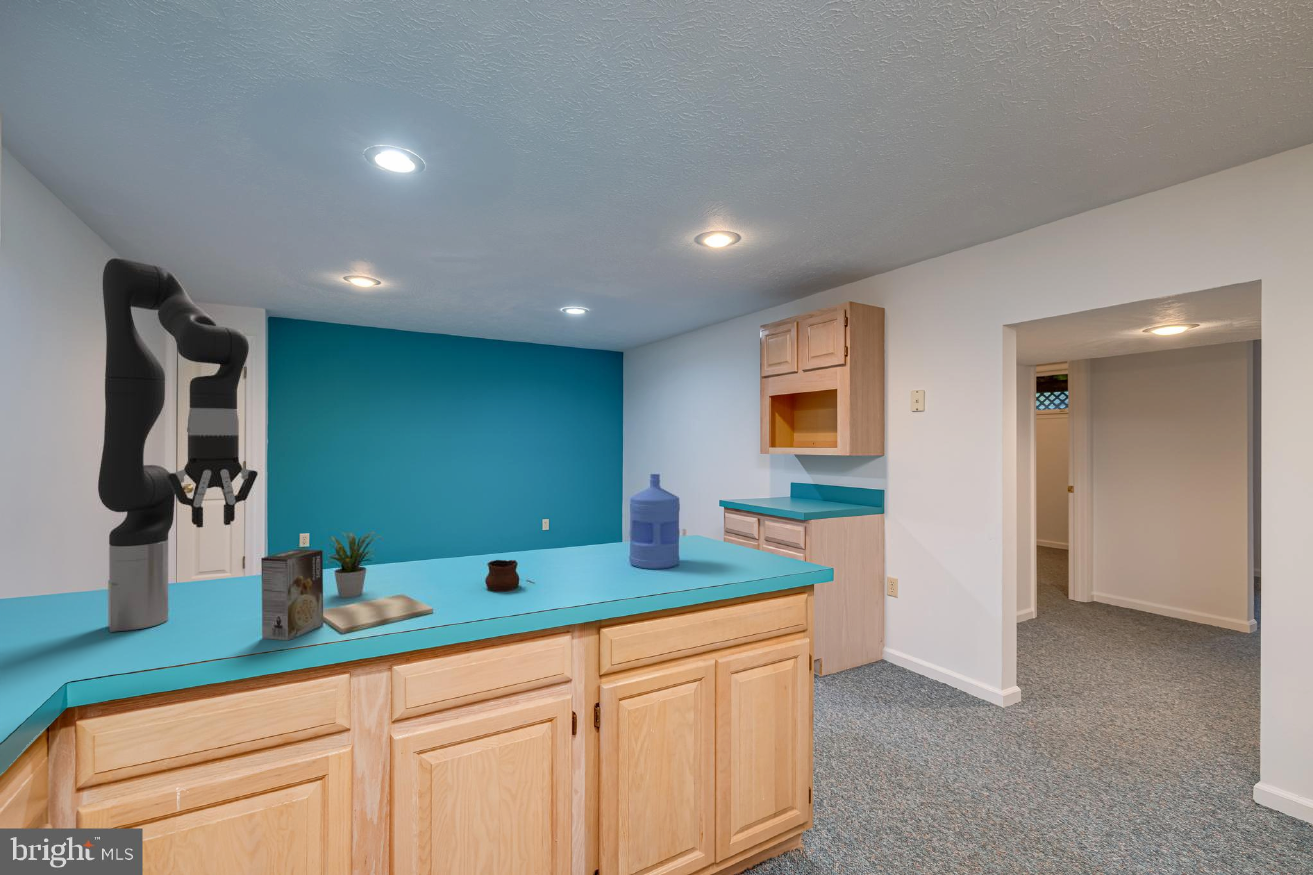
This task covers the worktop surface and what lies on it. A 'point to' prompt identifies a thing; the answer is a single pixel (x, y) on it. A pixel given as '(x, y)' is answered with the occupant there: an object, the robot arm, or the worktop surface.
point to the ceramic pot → (502, 576)
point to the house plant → (350, 566)
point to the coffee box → (292, 593)
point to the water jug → (654, 527)
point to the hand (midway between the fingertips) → (213, 525)
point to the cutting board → (374, 613)
